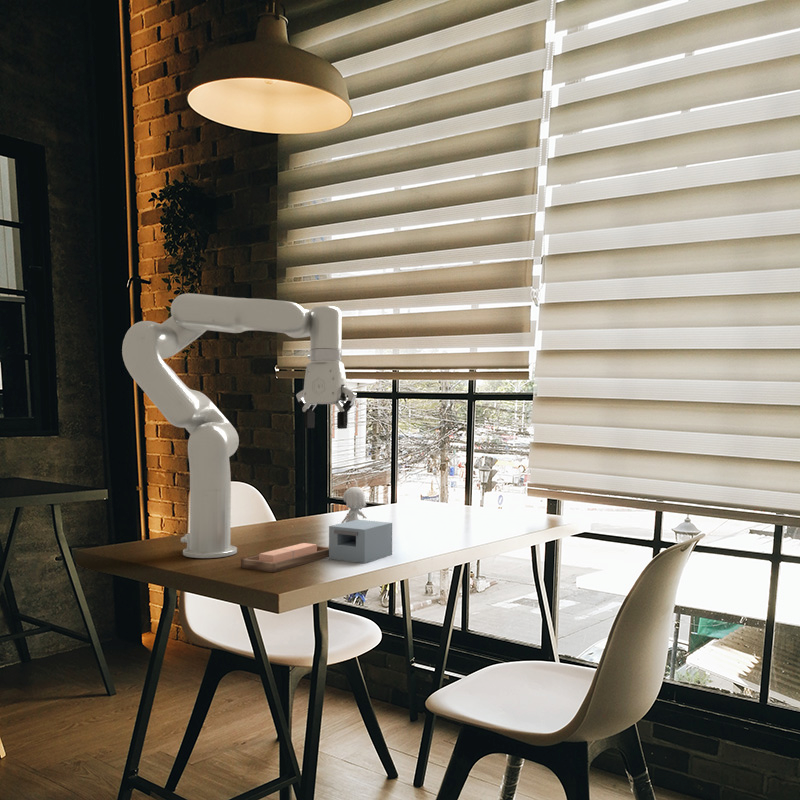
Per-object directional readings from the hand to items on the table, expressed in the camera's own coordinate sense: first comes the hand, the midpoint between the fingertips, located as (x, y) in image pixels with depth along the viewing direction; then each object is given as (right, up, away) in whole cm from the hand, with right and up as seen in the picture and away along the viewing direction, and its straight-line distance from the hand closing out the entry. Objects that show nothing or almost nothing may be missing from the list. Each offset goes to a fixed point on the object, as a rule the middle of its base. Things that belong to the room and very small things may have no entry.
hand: (325, 428), depth 175 cm
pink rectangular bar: (-7, -29, -9) cm, 32 cm away
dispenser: (+9, -30, -3) cm, 32 cm away
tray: (-7, -30, -9) cm, 32 cm away
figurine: (+6, -31, +12) cm, 34 cm away
